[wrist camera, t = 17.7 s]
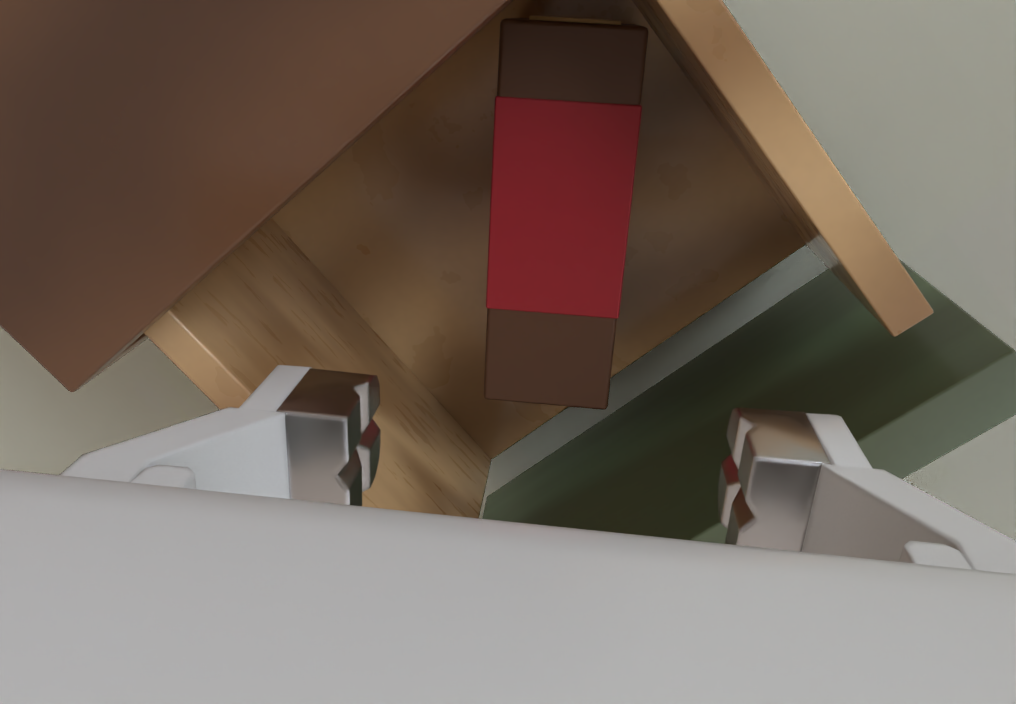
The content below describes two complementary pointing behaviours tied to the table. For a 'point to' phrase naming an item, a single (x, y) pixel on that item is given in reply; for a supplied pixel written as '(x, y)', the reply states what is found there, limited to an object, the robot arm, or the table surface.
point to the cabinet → (177, 143)
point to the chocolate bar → (560, 205)
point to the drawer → (644, 300)
